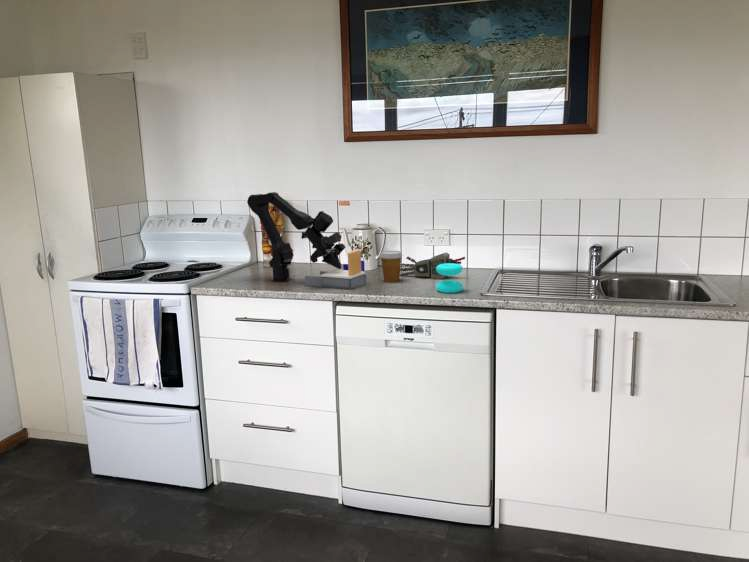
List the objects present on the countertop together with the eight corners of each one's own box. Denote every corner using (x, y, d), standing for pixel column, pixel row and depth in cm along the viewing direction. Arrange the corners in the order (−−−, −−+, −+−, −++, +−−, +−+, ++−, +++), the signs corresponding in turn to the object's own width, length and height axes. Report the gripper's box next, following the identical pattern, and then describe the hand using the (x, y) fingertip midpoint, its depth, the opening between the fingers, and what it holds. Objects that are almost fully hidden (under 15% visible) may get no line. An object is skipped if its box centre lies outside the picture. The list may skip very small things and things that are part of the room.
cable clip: (356, 273, 268) (356, 260, 266) (364, 274, 265) (364, 260, 264) (340, 277, 258) (340, 264, 257) (349, 278, 255) (348, 265, 254)
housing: (305, 285, 243) (304, 275, 242) (321, 280, 253) (321, 270, 252) (351, 289, 232) (350, 279, 232) (366, 283, 243) (365, 274, 242)
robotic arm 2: (393, 258, 253) (462, 253, 241) (399, 255, 260) (466, 250, 248) (396, 282, 254) (464, 278, 243) (402, 279, 261) (469, 274, 250)
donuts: (451, 268, 216) (430, 265, 224) (451, 294, 218) (430, 291, 226) (468, 264, 223) (447, 261, 230) (468, 290, 225) (447, 286, 232)
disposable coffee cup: (397, 277, 254) (397, 249, 251) (406, 281, 245) (406, 252, 242) (377, 279, 250) (376, 251, 248) (385, 283, 242) (384, 254, 239)
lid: (320, 276, 238) (319, 252, 236) (336, 271, 249) (335, 248, 247) (350, 278, 232) (349, 254, 230) (365, 273, 242) (364, 249, 240)
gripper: (315, 229, 231) (339, 259, 228) (341, 224, 247) (364, 252, 244) (299, 247, 237) (323, 277, 234) (325, 241, 252) (348, 269, 249)
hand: (340, 268), depth 240 cm, fingers closed
